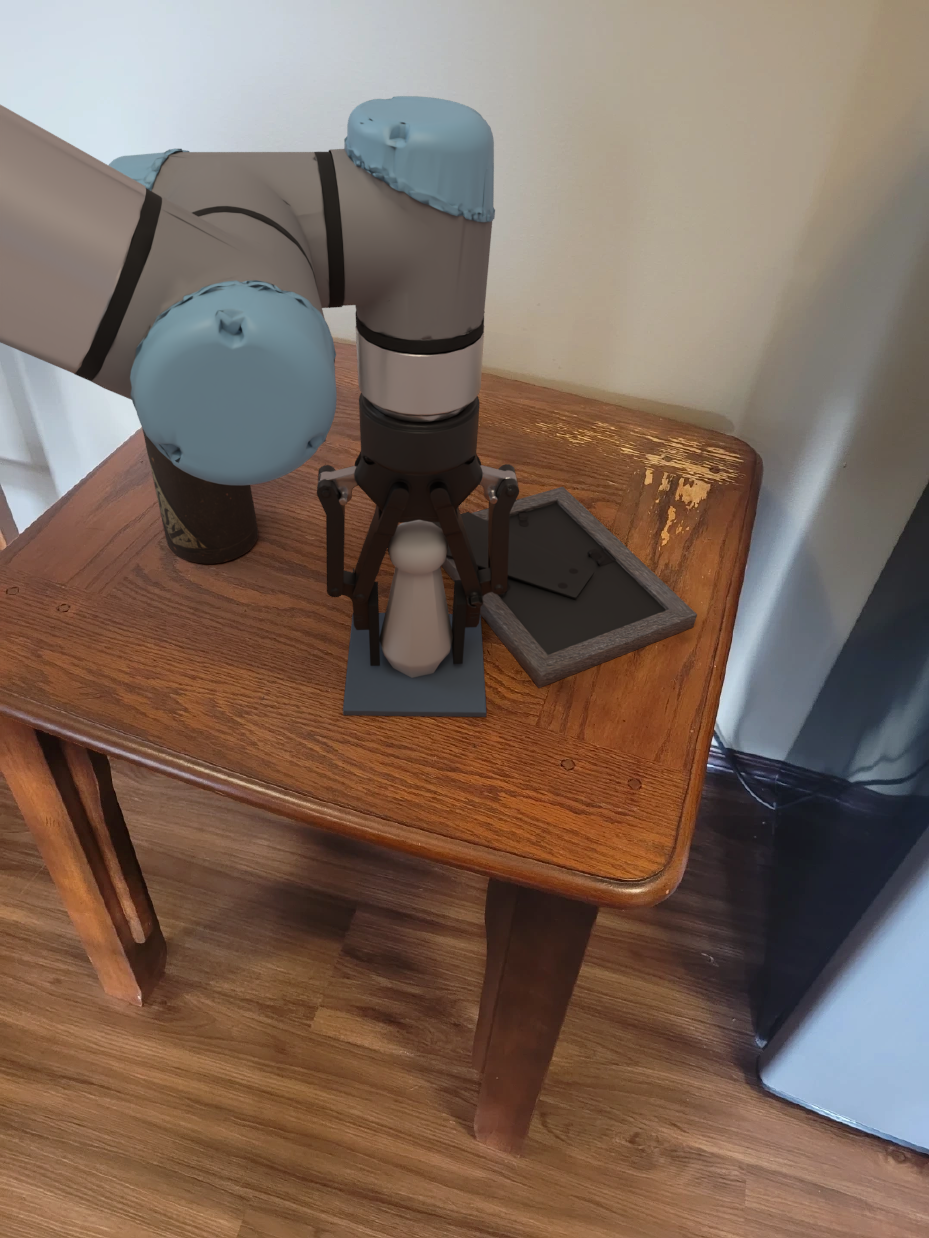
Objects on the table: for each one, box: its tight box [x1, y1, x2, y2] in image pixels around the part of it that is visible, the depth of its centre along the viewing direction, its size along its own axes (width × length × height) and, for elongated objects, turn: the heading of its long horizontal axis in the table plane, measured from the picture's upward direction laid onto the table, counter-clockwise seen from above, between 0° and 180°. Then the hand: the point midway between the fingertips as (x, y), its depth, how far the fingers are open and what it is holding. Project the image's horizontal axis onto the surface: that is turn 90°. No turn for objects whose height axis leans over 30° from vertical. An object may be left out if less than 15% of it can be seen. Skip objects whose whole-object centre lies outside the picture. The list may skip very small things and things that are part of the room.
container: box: [141, 427, 259, 565], centre depth 73 cm, size 9×9×20 cm
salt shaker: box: [379, 520, 453, 678], centre depth 64 cm, size 6×6×13 cm
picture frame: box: [432, 486, 698, 689], centre depth 77 cm, size 16×2×21 cm
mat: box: [342, 612, 487, 718], centre depth 69 cm, size 11×11×1 cm
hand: (416, 652), depth 68 cm, fingers closed on salt shaker, 6 cm apart
